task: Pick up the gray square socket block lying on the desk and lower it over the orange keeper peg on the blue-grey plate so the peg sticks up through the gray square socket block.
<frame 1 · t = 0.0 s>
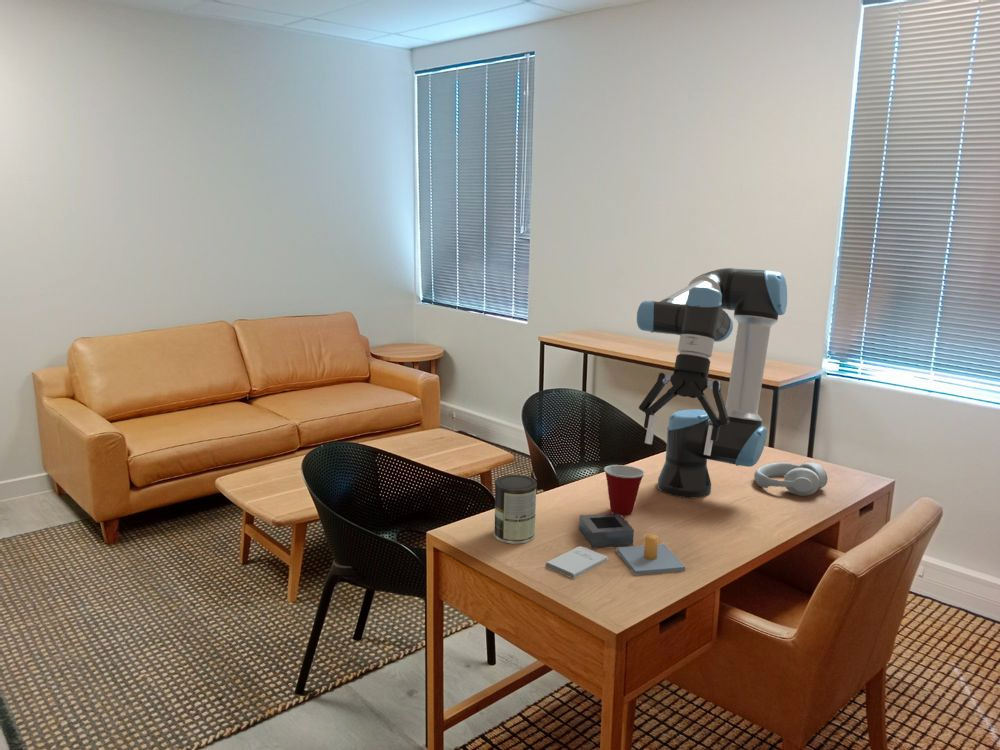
hand: (676, 449, 174), 28 cm above the table, fingers open, 13 cm apart
gray square socket block: (605, 537, 194), on the table
external hard drive: (576, 566, 180), on the table
coffee can: (514, 536, 194), on the table
keeper: (650, 561, 182), on the table
plastic cup: (621, 512, 210), on the table
headphones: (788, 487, 231), on the table
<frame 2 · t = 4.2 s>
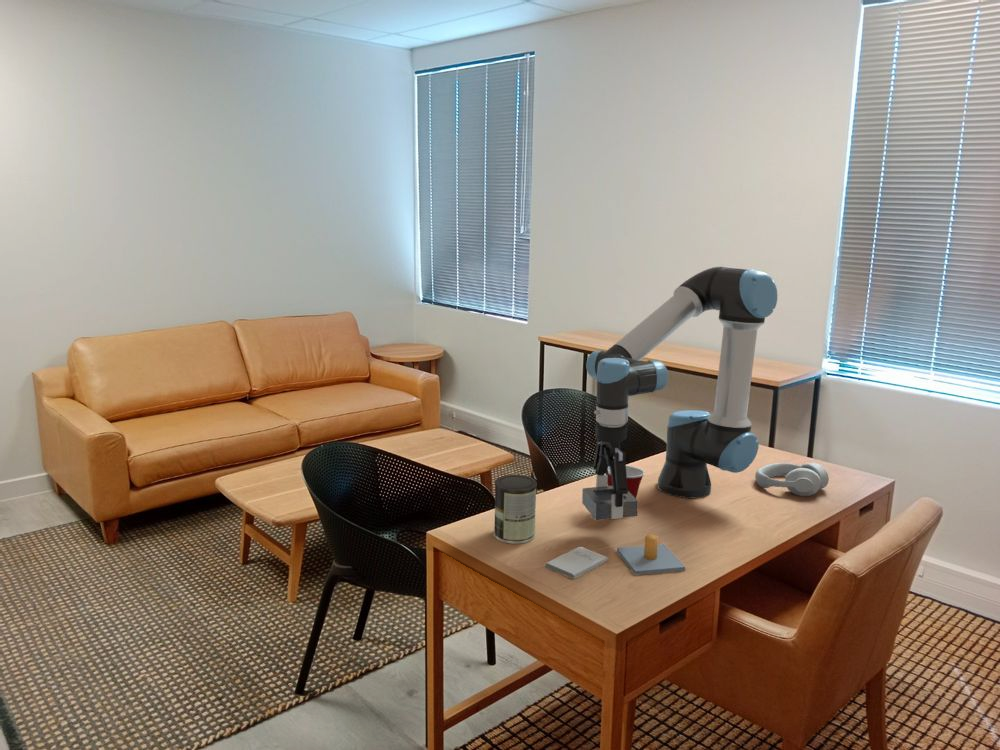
hand: (608, 508, 192), 8 cm above the table, fingers closed on gray square socket block, 10 cm apart
gray square socket block: (609, 509, 192), point 7 cm above the table, touching gripper
everything else where it was.
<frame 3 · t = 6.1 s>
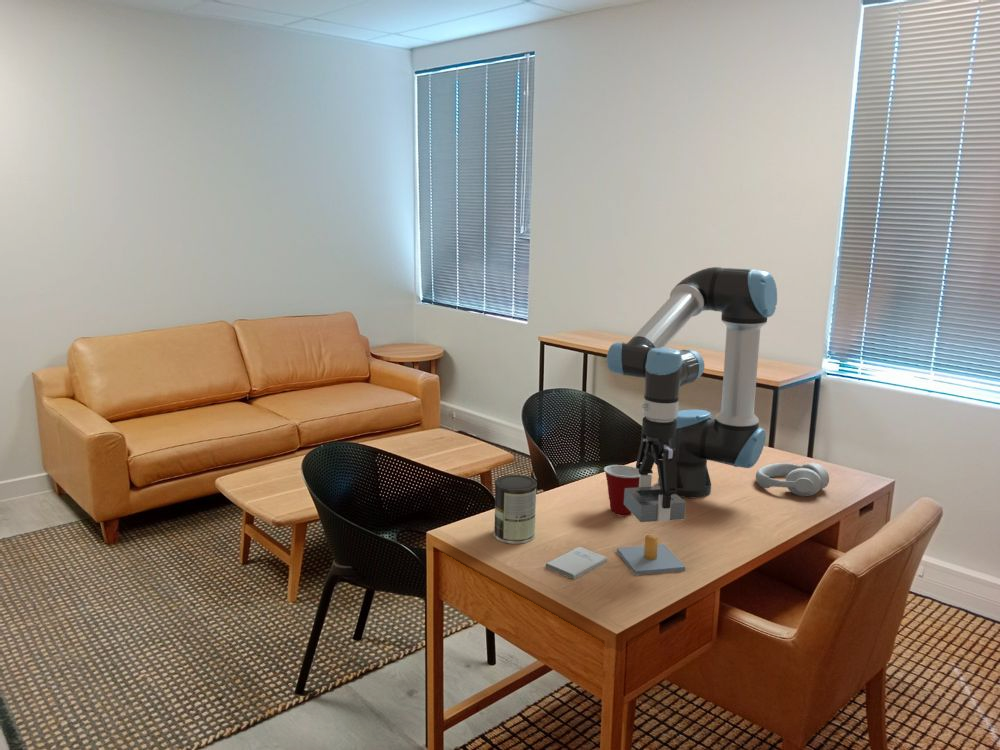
hand: (653, 510, 179), 13 cm above the table, fingers closed on gray square socket block, 10 cm apart
gray square socket block: (653, 511, 179), point 12 cm above the table, touching gripper
everything else where it was.
when the fingers open (3 cm above the table, at t = 8.3 s): gray square socket block drops 2 cm, resting on keeper.
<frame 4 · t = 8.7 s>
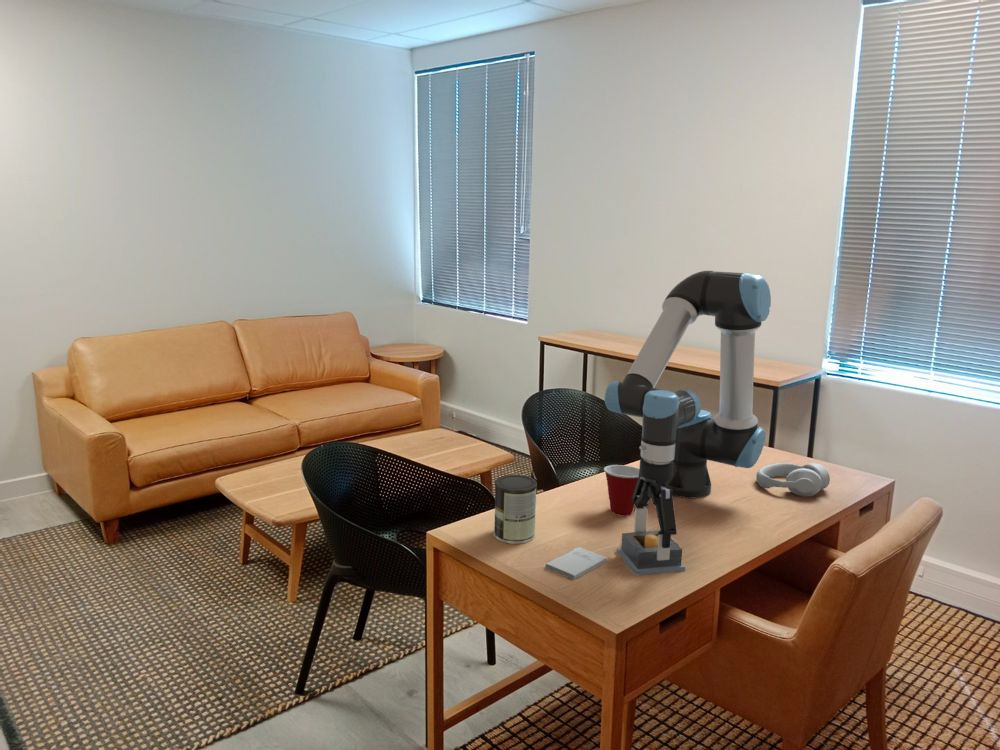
hand: (651, 546, 181), 4 cm above the table, fingers open, 13 cm apart
gray square socket block: (650, 556, 181), point 1 cm above the table, touching keeper
everything else where it was.
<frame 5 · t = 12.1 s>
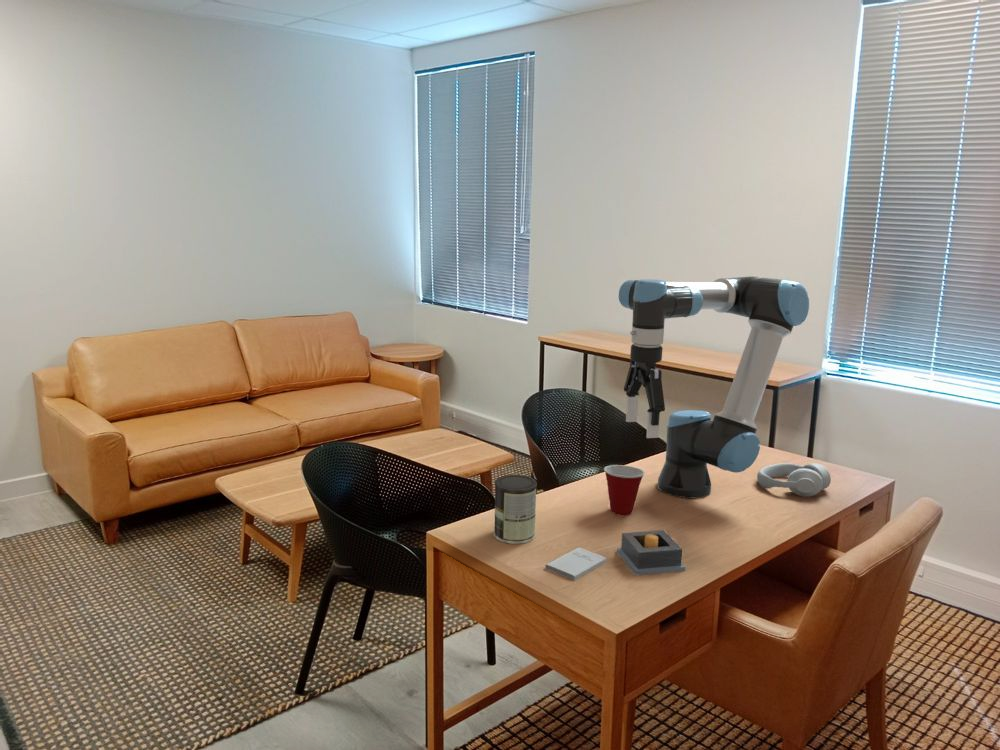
hand: (641, 429, 192), 27 cm above the table, fingers open, 13 cm apart
nothing on the table moved.
at the end: gray square socket block 0.1 cm from the keeper (horizontally); gray square socket block point 1.0 cm above the table; the gripper is holding nothing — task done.
